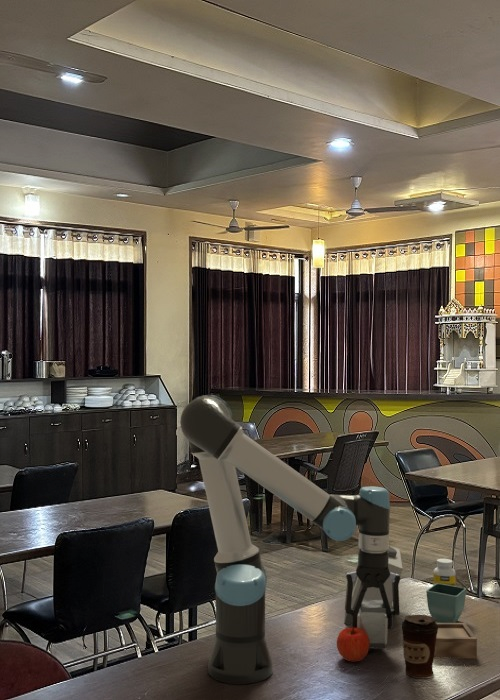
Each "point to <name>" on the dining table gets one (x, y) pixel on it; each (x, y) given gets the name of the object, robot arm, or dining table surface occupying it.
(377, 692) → the dining table surface
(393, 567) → the alarm clock
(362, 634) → the apple
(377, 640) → the block
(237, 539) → the robot arm
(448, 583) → the pill bottle
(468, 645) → the walnut stand
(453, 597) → the flower pot
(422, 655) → the coffee cup
